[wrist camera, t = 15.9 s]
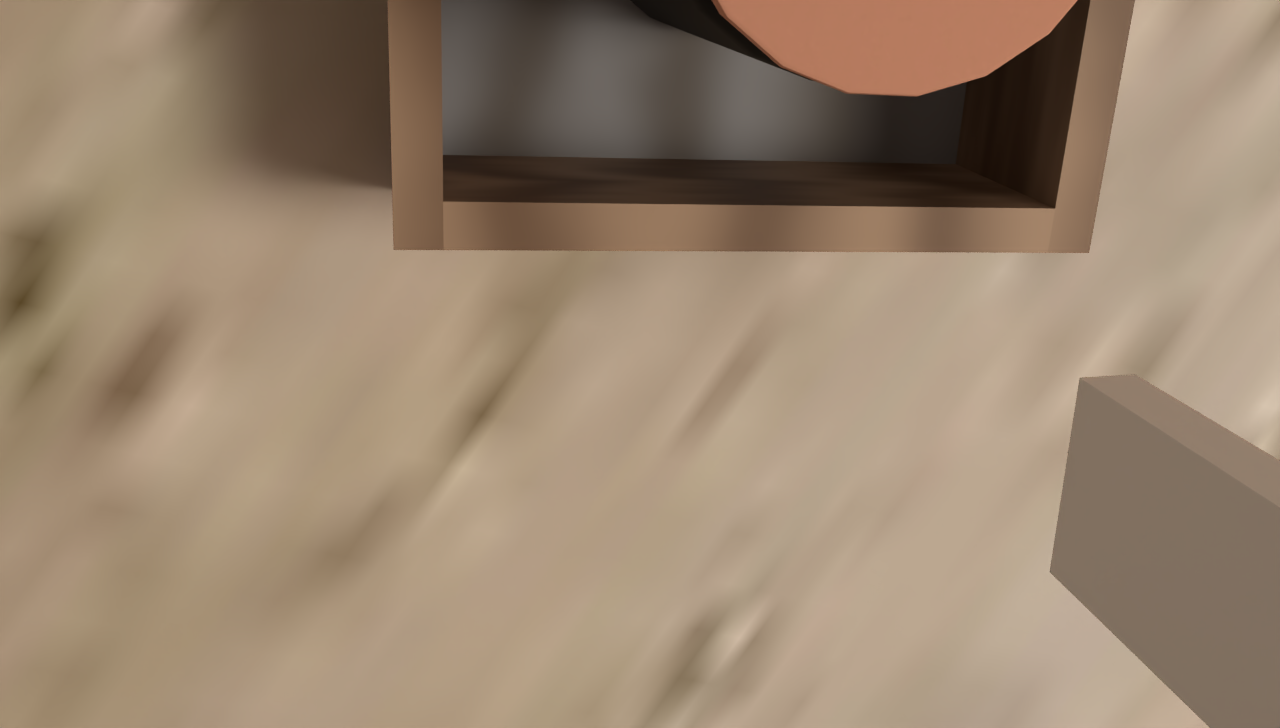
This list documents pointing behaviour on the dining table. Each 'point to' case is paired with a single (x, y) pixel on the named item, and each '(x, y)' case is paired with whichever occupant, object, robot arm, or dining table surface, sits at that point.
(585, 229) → the open wooden box
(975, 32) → the coffee jar
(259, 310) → the dining table surface
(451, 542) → the dining table surface
